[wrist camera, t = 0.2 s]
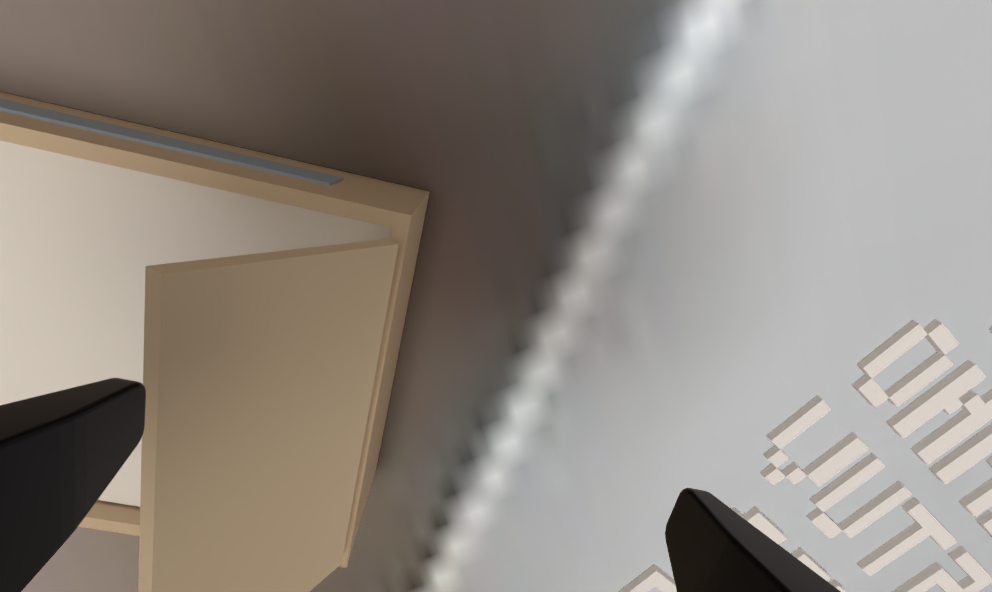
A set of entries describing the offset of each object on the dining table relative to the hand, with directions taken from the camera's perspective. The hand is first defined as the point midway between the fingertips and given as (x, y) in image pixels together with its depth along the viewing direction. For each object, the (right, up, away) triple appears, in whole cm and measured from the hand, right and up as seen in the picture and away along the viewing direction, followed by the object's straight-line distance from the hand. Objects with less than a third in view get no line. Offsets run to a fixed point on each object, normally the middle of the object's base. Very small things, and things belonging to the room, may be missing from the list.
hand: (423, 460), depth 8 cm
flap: (-5, -2, +6) cm, 8 cm away
